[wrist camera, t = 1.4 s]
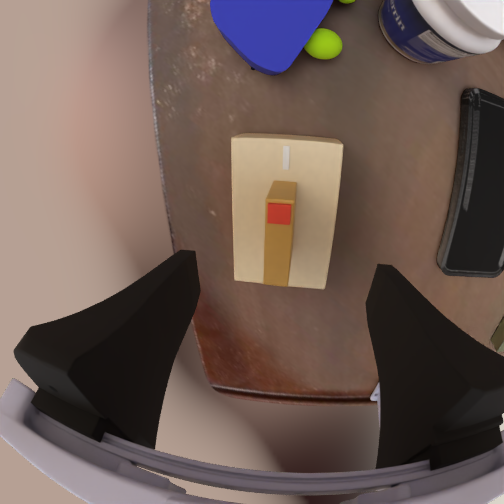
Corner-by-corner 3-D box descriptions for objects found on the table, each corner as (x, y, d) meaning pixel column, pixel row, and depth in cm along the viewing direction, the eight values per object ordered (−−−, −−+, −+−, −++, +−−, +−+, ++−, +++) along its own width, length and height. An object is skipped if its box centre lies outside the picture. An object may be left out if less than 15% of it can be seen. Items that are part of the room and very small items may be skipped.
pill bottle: (378, -14, 10) (422, -82, 2) (449, 15, 10) (525, -19, 1) (373, 49, 13) (432, 4, 5) (446, 77, 13) (537, 73, 4)
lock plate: (323, 267, 22) (324, 291, 19) (242, 259, 23) (233, 281, 20) (337, 138, 17) (344, 144, 14) (241, 133, 18) (230, 137, 15)
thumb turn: (291, 256, 18) (287, 290, 15) (270, 254, 19) (262, 287, 15) (297, 181, 16) (294, 202, 13) (273, 180, 16) (264, 199, 13)
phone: (534, 114, 10) (500, 278, 17) (527, 113, 11) (495, 271, 18) (467, 83, 12) (437, 275, 19) (460, 84, 13) (432, 267, 20)
